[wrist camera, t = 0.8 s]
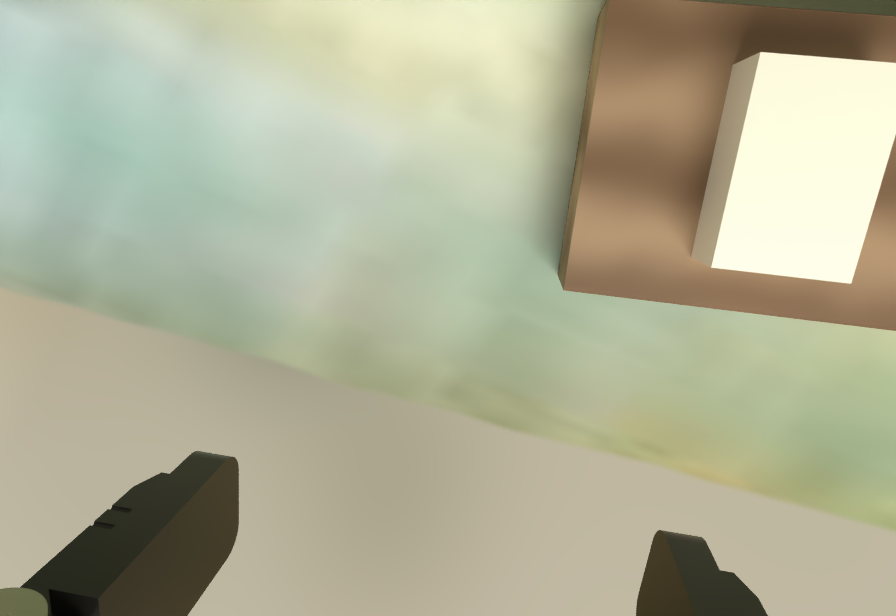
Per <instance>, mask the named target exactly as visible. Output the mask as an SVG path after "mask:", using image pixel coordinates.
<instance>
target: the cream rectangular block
mask: <svg viewBox="0 0 896 616" xmlns="http://www.w3.org/2000/svg"><path fill="white" fill-rule="evenodd" d="M895 135H896V63H889V62H877V61H865V60H852V59H840V58H828V57H815V56H803V55H791V54H779V53H766V52H760V53H757V54H755V55H753V56H751V57H749V58H746V59H744V60H742V61H740V62H738V63H736V64H733V66H732V71H731V75H730V80H729V85H728V89H727V94H726V98H725V103H724V108H723V112H722V117H721V121H720V126H719V131H718V135H717V140H716V144H715V149H714V154H713V158H712V163H711V167H710V172H709V177H708V181H707V186H706V190H705V195H704V200H703V204H702V209H701V213H700V218H699V223H698V227H697V232H696V236H695V241H694V245H693V250H692V255H691V257H692V258H694V259H696V260H698V261H700V262H702V263H704V264H706V265H707V266H709V267H711V268H720V269H728V270H737V271H746V272H754V273H763V274H772V275H780V276H789V277H797V278H806V279H815V280H823V281H832V282H841V283H849V284H851V283H852V279H853V276H854V273H855V269H856V266H857V262H858V259H859V256H860V252H861V249H862V246H863V242H864V239H865V236H866V232H867V229H868V226H869V222H870V219H871V216H872V212H873V209H874V206H875V202H876V199H877V196H878V192H879V189H880V186H881V182H882V179H883V175H884V172H885V169H886V165H887V162H888V159H889V155H890V152H891V149H892V145H893V142H894V139H895Z"/></svg>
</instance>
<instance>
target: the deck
mask: <svg viewBox="0 0 896 616" xmlns="http://www.w3.org/2000/svg"><path fill="white" fill-rule="evenodd" d="M760 52H766V53H779V54H791V55H803V56H815V57H828V58H840V59H852V60H865V61H877V62H889V63H896V16H888V15H875V14H861V13H848V12H834V11H821V10H808V9H794V8H781V7H767V6H754V5H740V4H727V3H714V2H700V1H687V0H607V2H606V4H605V5H604V7H603V9H602V11H601V13H600V14H599V16H598V20H597V27H596V33H595V39H594V46H593V52H592V59H591V65H590V72H589V78H588V85H587V91H586V98H585V104H584V111H583V117H582V123H581V130H580V136H579V143H578V149H577V156H576V162H575V169H574V175H573V182H572V188H571V195H570V201H569V207H568V214H567V220H566V227H565V233H564V240H563V246H562V253H561V259H560V266H559V272H558V277H559V280H560V282H561V285H562V287H563V290H566V291H574V292H582V293H590V294H599V295H607V296H615V297H623V298H631V299H639V300H648V301H656V302H664V303H672V304H680V305H689V306H697V307H705V308H713V309H721V310H730V311H738V312H746V313H754V314H762V315H770V316H779V317H787V318H795V319H803V320H811V321H820V322H828V323H836V324H844V325H852V326H861V327H869V328H877V329H885V330H893V331H896V135H895V139H894V142H893V145H892V149H891V152H890V155H889V159H888V162H887V165H886V169H885V172H884V175H883V179H882V182H881V186H880V189H879V192H878V196H877V199H876V202H875V206H874V209H873V212H872V216H871V219H870V222H869V226H868V229H867V232H866V236H865V239H864V242H863V246H862V249H861V252H860V256H859V259H858V262H857V266H856V269H855V273H854V276H853V279H852V283H851V284H849V283H841V282H832V281H823V280H815V279H806V278H797V277H789V276H780V275H772V274H763V273H754V272H746V271H737V270H728V269H720V268H711V267H709V266H707V265H706V264H704V263H702V262H700V261H698V260H696V259H694V258H692V257H691V255H692V250H693V245H694V241H695V236H696V232H697V227H698V223H699V218H700V213H701V209H702V204H703V200H704V195H705V190H706V186H707V181H708V177H709V172H710V167H711V163H712V158H713V154H714V149H715V144H716V140H717V135H718V131H719V126H720V121H721V117H722V112H723V108H724V103H725V98H726V94H727V89H728V85H729V80H730V75H731V71H732V66H733V64H736V63H738V62H740V61H742V60H744V59H746V58H749V57H751V56H753V55H755V54H757V53H760Z"/></svg>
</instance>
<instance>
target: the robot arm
mask: <svg viewBox="0 0 896 616" xmlns="http://www.w3.org/2000/svg"><path fill="white" fill-rule="evenodd" d="M238 472H239V469H238V462H237V460H236V458H234V457H230V456H224V455H218V454H212V453H206V452H200V451H195V452H193V453H192V454H191V455H189V456H188V457H187V458H186V459H185V460H184V461H183V462H182V463H181V464H180V465H179V466H178V467H177V468H176V469H175V470H174V471H172V472H171V473H170V474H167V473H160V474H158V475H156V476H154V477H152V478H150V479H148V480H146V481H144V482H142V483H140V484H138V485H136V486H134V487H133V488H131V489H130V490H129V491H128V492H127V493H126V494H125V495H124V496H123V497H121V498H120V499H119V500H118V501H117V502H116V503H115V504H113V505H112V508H111V510H109V509H108V510H107V511H105V512H104V513H103V514H102V515H101V516H100V517H99V518H98V519H96V520H95V522H94V525H93V526H89V527H88V528H86V529H85V530H84V531H83V532H82V533H81V534H80V535H78V536H77V537H76V538H75V539H74V540H73V541H72V542H71V543H70V544H68V545H67V546H66V547H65V548H64V549H63V550H62V551H61V552H59V553H58V554H57V555H56V556H55V557H54V558H53V559H51V560H50V561H49V562H48V563H47V564H46V565H45V566H44V567H42V568H41V569H40V570H39V571H38V572H37V573H36V574H35V575H33V576H32V577H31V578H30V579H29V580H28V581H27V582H26V583H24V584H23V585H22V586H21V587H20V588H5V589H0V616H187V615H188V614H189V612H190V611H191V609H192V608H193V607H194V605H195V604H196V602H197V601H198V600H199V598H200V596H201V595H202V594H203V592H204V591H205V589H206V588H207V587H208V585H209V584H210V582H211V581H212V580H213V578H214V576H215V575H216V574H217V572H218V571H219V570H220V568H221V567H222V565H223V564H224V562H225V561H226V559H227V558H228V556H229V554H230V553H231V550H232V548H233V546H234V543H235V540H236V536H237V532H238V524H239V499H238V498H239V495H238V494H239V478H238V477H239V473H238ZM636 609H637V610H636V616H768V615H767V614H766V612H765V610H764V608H763V606H762V604H761V602H760V601H759V599H758V597H757V596H756V595H755V594H754V593H753V592H752V591H751V590H750V589H749V588H748V587H747V586H746V585H745V584H744V583H743V582H742V581H741V580H740V579H739V578H738V577H737V576H736V575H735V574H734V573H731V572H726V571H720V570H719V568H718V566H717V564H716V562H715V560H714V557H713V556H712V553H711V551H710V549H709V547H708V545H707V543H706V541H705V540H704V539H703V538H702V537H697V536H691V535H685V534H679V533H673V532H667V531H661V530H659V531H657V532H656V534H655V536H654V538H653V542H652V545H651V549H650V553H649V557H648V560H647V565H646V568H645V572H644V576H643V580H642V583H641V587H640V591H639V595H638V599H637V608H636Z"/></svg>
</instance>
